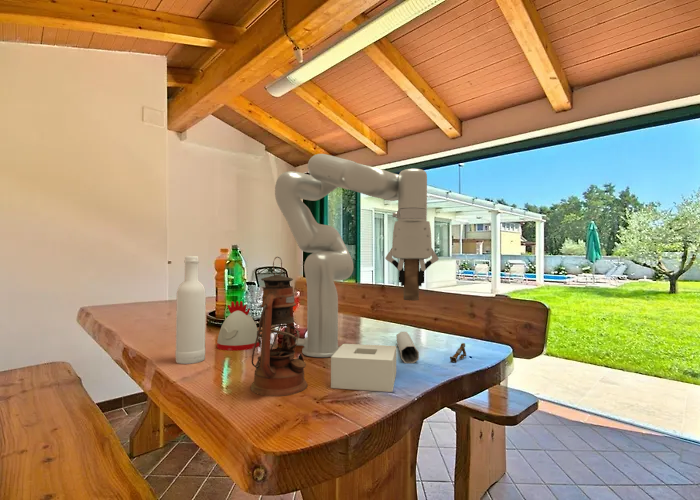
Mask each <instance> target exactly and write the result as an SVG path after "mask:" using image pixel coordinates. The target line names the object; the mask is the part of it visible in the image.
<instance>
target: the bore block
mask: <svg viewBox="0 0 700 500" xmlns="http://www.w3.org/2000/svg"><path fill="white" fill-rule="evenodd" d="M396 377H397V345H379V344H358V343H342V345H340V348H339V349H338V350H337V351H336V352H335V353H334V354H333V356H332V357H330V389H342V390H343V389H344V390H357V391H372V392H387V393H388V392H389V393H393V392H394V388H395V387H394V386H395V381H396Z"/></svg>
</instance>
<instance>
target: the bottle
mask: <svg viewBox="0 0 700 500" xmlns="http://www.w3.org/2000/svg"><path fill="white" fill-rule="evenodd" d="M199 263H200V259H199V256H198V255H195V256H193V255H185V256H184V280H183V282H182V283H180V284H179V286H178V287H177V290H176V308H175V309H176V312H175V313H176V314H175V316H176V321H175V322H176V323H175V325H176V326H175V327H176V328H175V331H176V332H175V362H176V363H177V364H180V365H193V364H198V363H201V362H203V361H205V359H206V303H207V302H206V299H207V298H206V296H207V295H206V294H207V293H206V289H205V286H204V284H203V283H202V282H201V281H199Z"/></svg>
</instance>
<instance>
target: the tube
mask: <svg viewBox="0 0 700 500" xmlns="http://www.w3.org/2000/svg"><path fill="white" fill-rule="evenodd" d="M396 344H397V347H398V350H399V354H400V359H401V360H402V361H403V363H404V364H415V363H416V362H417V361H419V360H420V356H419V355H420V352H419V350H418V349H417V347H416V345H415V343H414V342H413V339H412V337H411V335H410V334H409V333H408V331H400V332H399V333H397V334H396Z"/></svg>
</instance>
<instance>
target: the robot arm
mask: <svg viewBox="0 0 700 500" xmlns="http://www.w3.org/2000/svg"><path fill="white" fill-rule="evenodd" d="M307 170H308V173H309V174H307V173H303V172H299V171H293V170H291V171H284V172H282V173H281V174H280V175H279V176H278V177H277V179H276V180H275V181H276V182H275V186H274V197H275V201H276V203H277V206H278V208H279V210H280V212H281V214H282V215H283V217H284V219H285V220H286V222H287V225H288V227H289V229H290V231H291V233H292V236H293V237H294V240H295V242H296V244H297V246H298V249H300V250H301V251H302V252H305V253H310V254H309V255H307V257H306V259H305V261H304V267H303V268H304V276H305V281H306V282H305V283H306V290H307V291H306V293H307V294H306V295H307V296H306V298H307V302H306V303H307V305H306V306H307V307H306V308H307V313H306V314H307V325H306V326H307V327H306V330H307V331H306V333H307V335H306V337H304V338H300V337H299V338H298V343H297V342H296V343H295V345H296V344H297V345H296V346H303V347H302V349H301V354H302V355H303V356H307V357H312V358H331V357H332V356H333V354H334V353H335V352H336V351H337V350H338V349H339V348H340V347H341V345H340V346H339V343H338V342H339V340H338V339H339V338H338V337H339V330H338V329H339V317H338V316H339V299H338V298H339V296H338V289H337V286H336V284H335V282H337V281H345V280H347V279H349V278H350V277H351V276H352V274H353V272H354V262H353V258H352V256H351V253H350V252H349V249H348V248H347V246H346V244H345V242H344V240H343V238H342V236H341V234H340V233H339V231H338V230H337V229H336V227H334V226H331V225H329V224H321V223H318V222H317V220H316V219H315V217H314V215H313V214H312V212H311V209H310V208H309V207H308V206H307V205H306V204H305V203H304V202H303V200H306V201H315V202H316V201H319V200H321V199H323V198H324V197H326V196H328V195H329V194H330V193H331V192H334V191H335V190H336V189H337V188H340V189H341V188H342V189H344V190H350V191H352V192H356V193H359V194H363V195H365V196H368V197H369V196H370V197H371V198H376V199H377V198H378V199H381V200H385V201H390V202H395V201H397V211H395V212H394V211H393V212H392V218H395V219H397V220H396V221H394V224H393V230H392V243H391V244H392V246H391V249H390V250H389V252H388V253H387V254H386V256H385V257H384V258H385V260H386V261H387V262H389V263H390V264H392V265H393V266H394V267H395V268H396V269H397V270H398V283H400V287H404V259H419V287H422V284H424V283H425V271H426V270H427V269H428V268H429V267H430V266H431V265H433V264H435V263H436V262H438V261H439V260H440V259H439V257H438V255H437V254H436V252H435V251H434V249H433V247H432V246H433V245H432V230H431V224H430V221H427V215H428V213H427V212H428V211H427V210H428V209H427V207H428V175H427V172H426V171H425V170H424V169H421V168H406V169H403V170H401V171H400V172H399V174H398V173H394V172H391V171H388V170H384V169H381V168H378V167H374V166H371V165H365V164H362V163H358V162H356V161H353V160H350V159H345V158H342V157H338V156H335V155H330V154H326V153H317V154H316V153H315V154H314V155H313V156H311V157H310V159H309V160H308V162H307ZM396 259H397V260H398V261H397V260H396ZM427 259H429V260H428V261H426V262H425V260H427ZM296 341H297V340H296Z"/></svg>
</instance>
